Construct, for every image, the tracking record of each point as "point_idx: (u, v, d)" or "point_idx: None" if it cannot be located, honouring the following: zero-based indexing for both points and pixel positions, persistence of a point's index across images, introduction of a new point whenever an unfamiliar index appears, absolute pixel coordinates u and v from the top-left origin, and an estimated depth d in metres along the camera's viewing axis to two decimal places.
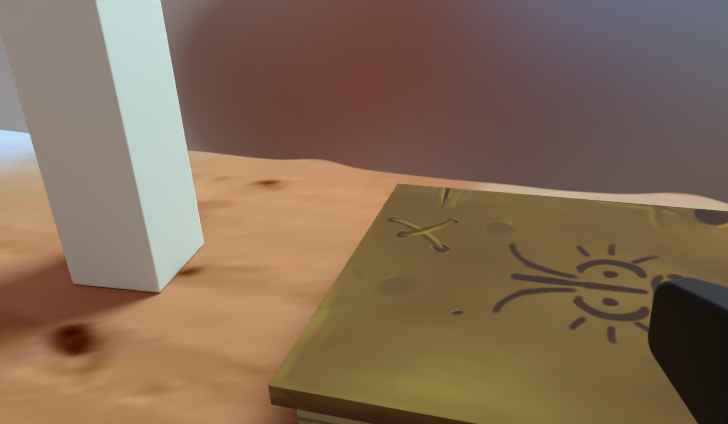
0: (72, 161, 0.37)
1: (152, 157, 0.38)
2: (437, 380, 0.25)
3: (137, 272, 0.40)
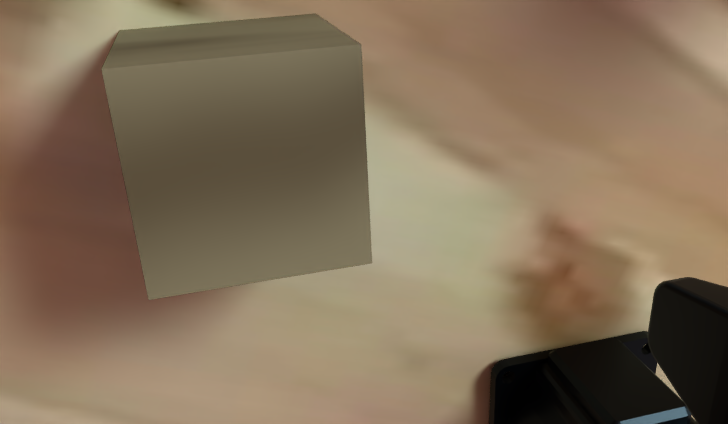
0: None
1: None
2: None
3: None
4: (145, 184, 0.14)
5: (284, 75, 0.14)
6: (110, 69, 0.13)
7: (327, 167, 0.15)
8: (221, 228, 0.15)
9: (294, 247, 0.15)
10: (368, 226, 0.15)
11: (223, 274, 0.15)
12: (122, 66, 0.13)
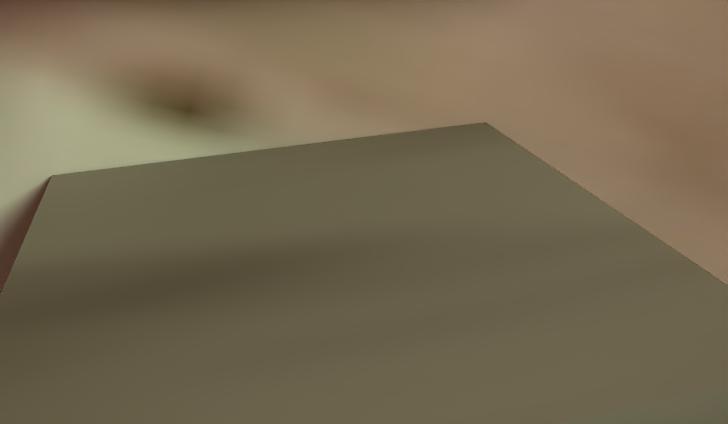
0: None
1: None
2: None
3: None
4: None
5: None
6: None
7: None
8: None
9: None
10: None
11: None
12: None
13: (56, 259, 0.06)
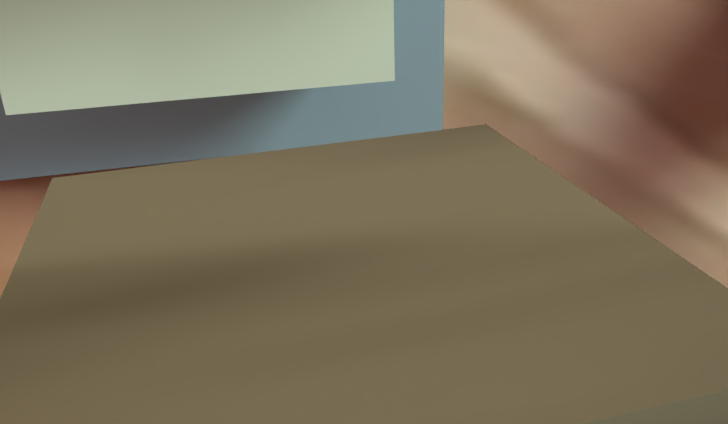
0: None
1: None
2: None
3: None
4: None
5: None
6: None
7: None
8: None
9: None
10: None
11: None
12: None
13: (57, 262, 0.06)
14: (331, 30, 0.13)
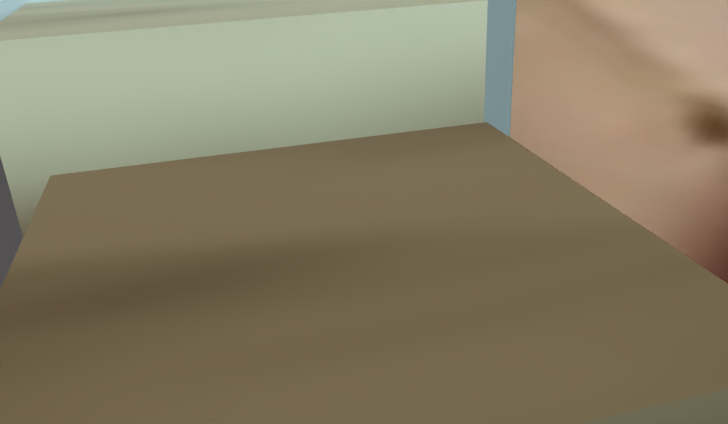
0: None
1: None
2: None
3: None
4: None
5: None
6: None
7: None
8: None
9: None
10: None
11: None
12: None
13: (54, 259, 0.06)
14: None
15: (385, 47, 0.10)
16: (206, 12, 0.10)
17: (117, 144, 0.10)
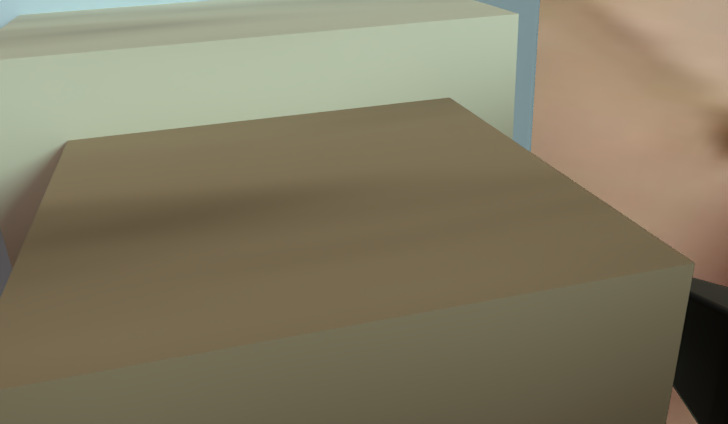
0: None
1: None
2: None
3: None
4: None
5: (490, 356, 0.05)
6: None
7: None
8: None
9: None
10: None
11: None
12: (25, 381, 0.04)
13: (75, 201, 0.07)
14: None
15: (407, 65, 0.09)
16: (213, 27, 0.09)
17: None
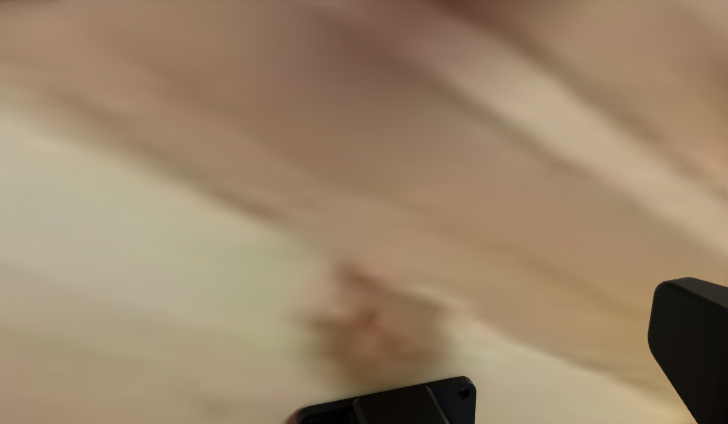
0: None
1: None
2: None
3: None
4: None
5: None
6: None
7: None
8: None
9: None
10: None
11: None
12: None
13: None
14: None
15: None
16: None
17: None
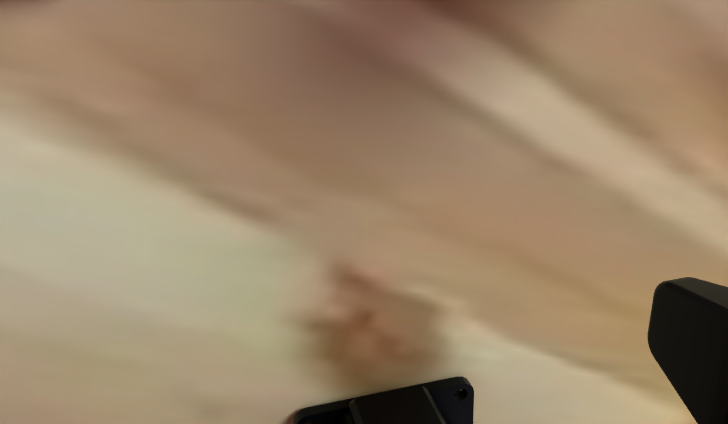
0: None
1: None
2: None
3: None
4: None
5: None
6: None
7: None
8: None
9: None
10: None
11: None
12: None
13: None
14: None
15: None
16: None
17: None
